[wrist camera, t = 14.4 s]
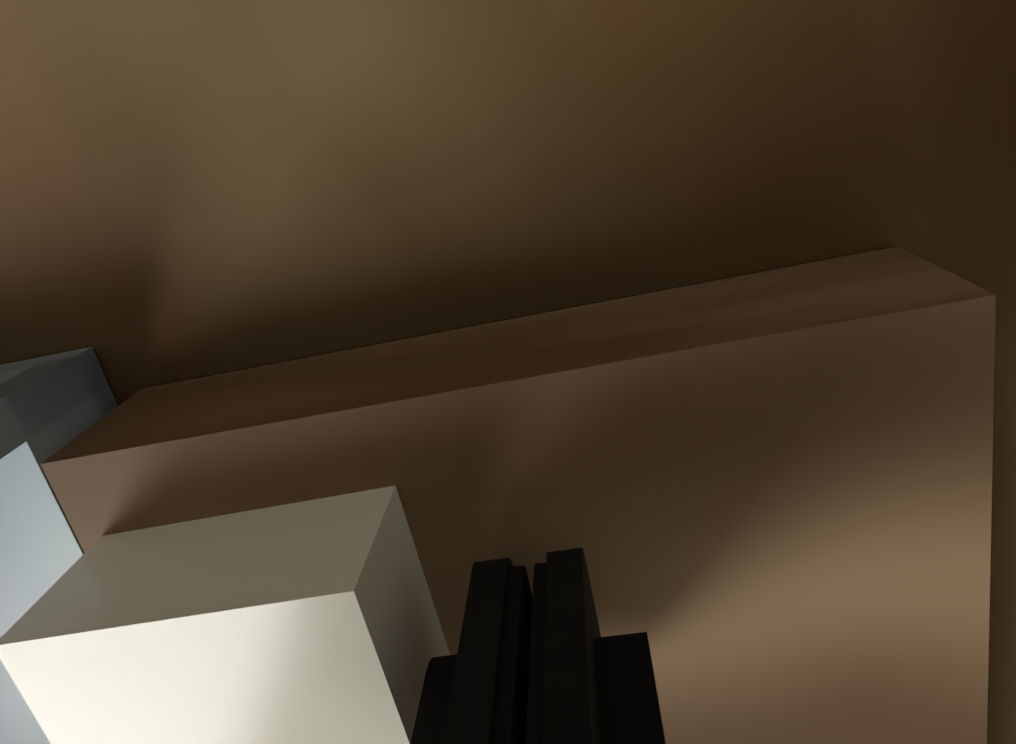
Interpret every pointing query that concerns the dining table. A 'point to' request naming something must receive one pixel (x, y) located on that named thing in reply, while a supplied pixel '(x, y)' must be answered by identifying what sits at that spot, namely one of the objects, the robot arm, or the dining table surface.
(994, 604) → the dining table surface
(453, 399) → the walnut board
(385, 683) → the cream tile
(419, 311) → the dining table surface
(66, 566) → the tray
